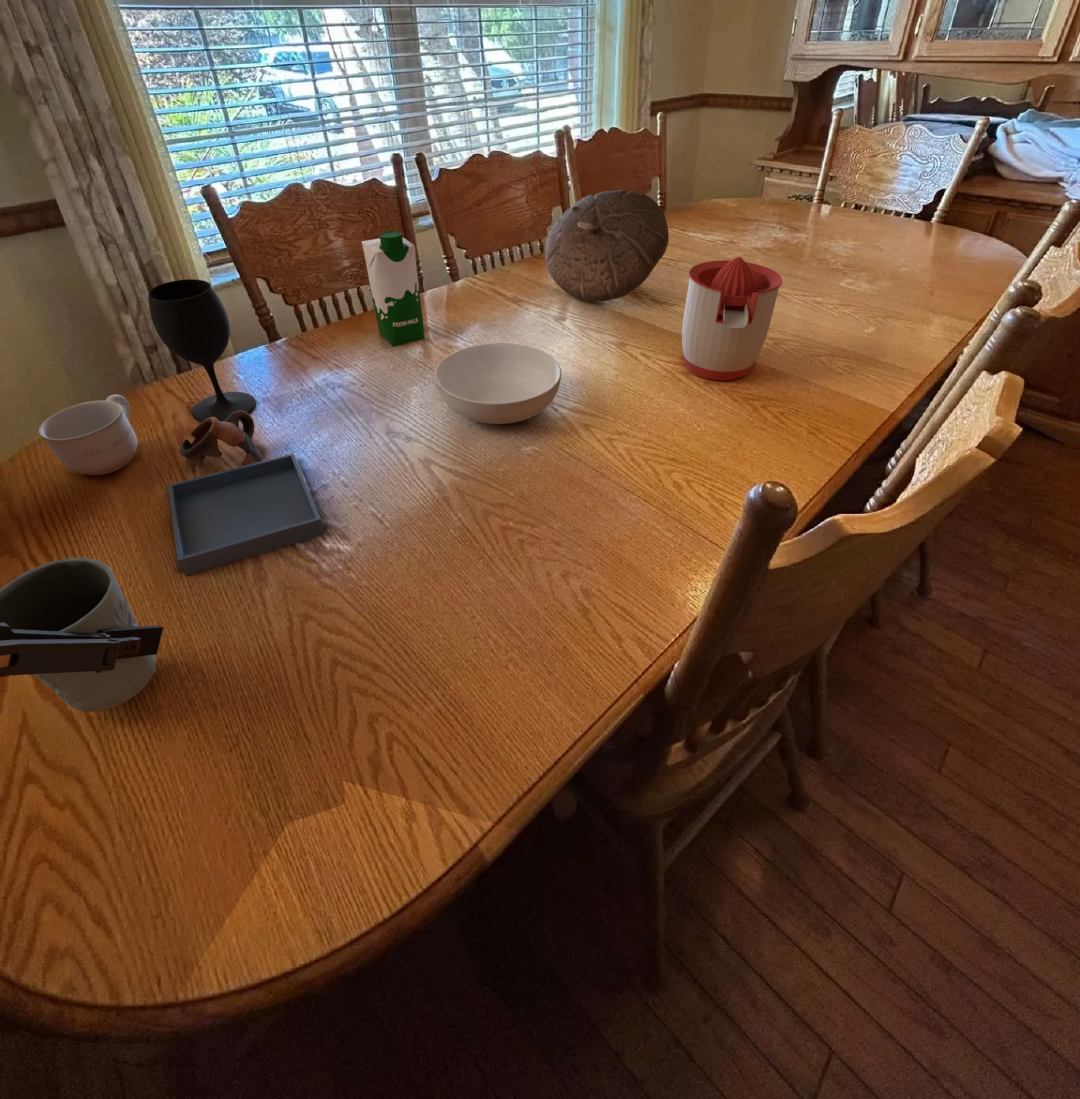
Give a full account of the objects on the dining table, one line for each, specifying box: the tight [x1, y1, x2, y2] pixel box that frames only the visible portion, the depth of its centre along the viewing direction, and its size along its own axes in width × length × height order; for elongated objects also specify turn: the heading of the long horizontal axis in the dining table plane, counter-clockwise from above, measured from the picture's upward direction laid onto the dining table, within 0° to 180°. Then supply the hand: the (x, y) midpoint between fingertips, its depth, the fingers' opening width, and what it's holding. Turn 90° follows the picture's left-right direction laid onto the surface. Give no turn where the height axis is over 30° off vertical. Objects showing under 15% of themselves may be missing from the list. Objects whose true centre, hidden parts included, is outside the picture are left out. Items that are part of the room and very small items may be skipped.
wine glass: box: [147, 278, 257, 423], centre depth 101 cm, size 10×10×20 cm
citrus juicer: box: [681, 256, 783, 381], centre depth 112 cm, size 16×17×20 cm
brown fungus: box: [544, 189, 670, 303], centre depth 142 cm, size 28×23×25 cm
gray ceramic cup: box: [0, 557, 157, 713], centre depth 59 cm, size 10×10×12 cm
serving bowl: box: [434, 342, 562, 425], centre depth 106 cm, size 21×21×7 cm
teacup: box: [38, 394, 138, 476], centre depth 94 cm, size 14×11×8 cm
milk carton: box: [361, 230, 426, 348], centre depth 122 cm, size 9×9×20 cm
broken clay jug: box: [179, 410, 263, 470], centre depth 95 cm, size 12×10×8 cm
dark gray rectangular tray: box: [167, 452, 326, 576], centre depth 85 cm, size 17×17×3 cm
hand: (114, 627), depth 63 cm, fingers closed on gray ceramic cup, 10 cm apart
